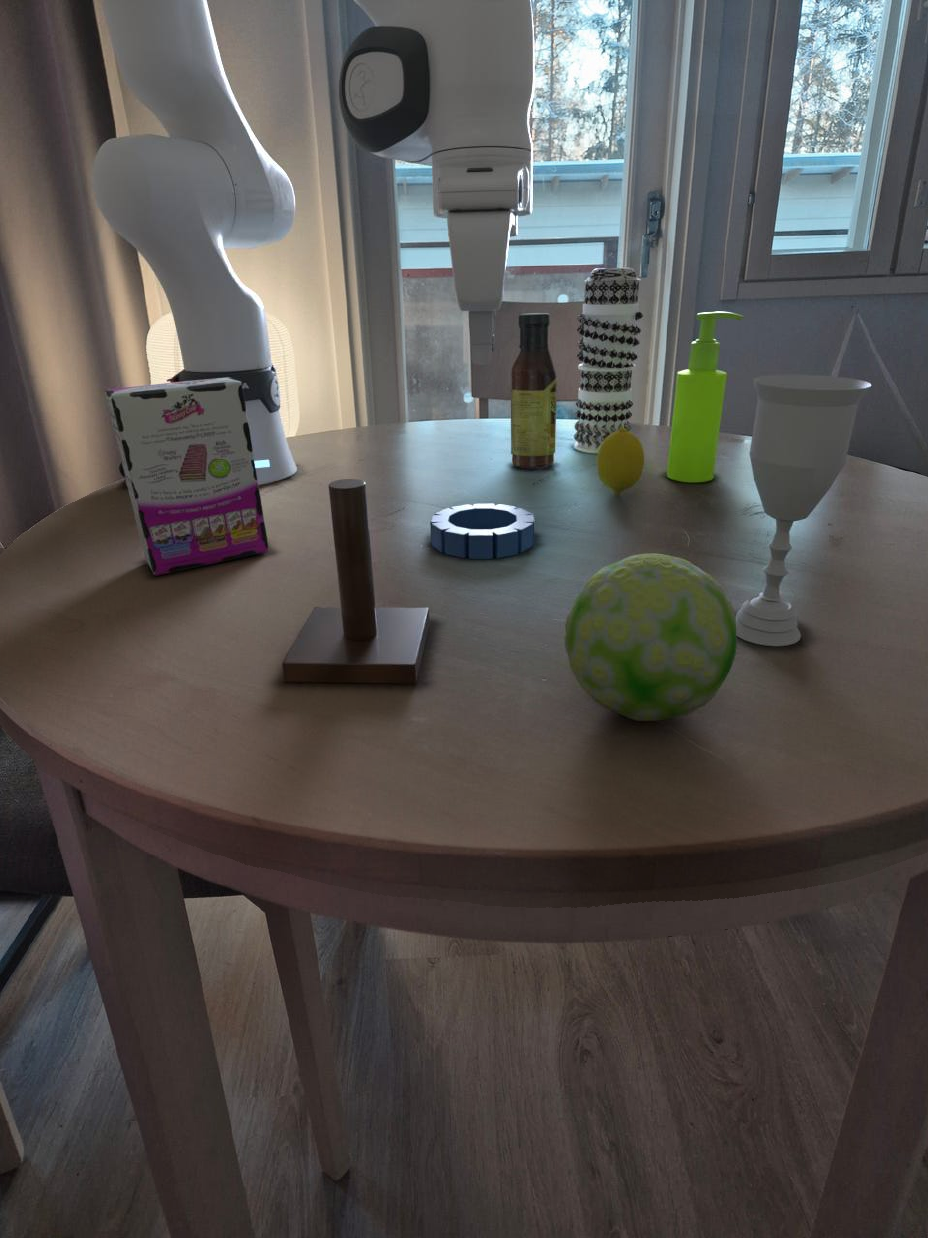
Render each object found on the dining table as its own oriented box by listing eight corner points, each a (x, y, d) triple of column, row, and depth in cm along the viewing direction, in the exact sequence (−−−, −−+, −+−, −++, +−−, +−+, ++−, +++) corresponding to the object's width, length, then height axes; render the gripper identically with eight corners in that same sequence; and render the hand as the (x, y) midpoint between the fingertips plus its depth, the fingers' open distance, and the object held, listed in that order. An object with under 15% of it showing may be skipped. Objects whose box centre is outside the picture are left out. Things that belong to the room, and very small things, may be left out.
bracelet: (427, 558, 69) (425, 535, 68) (436, 524, 78) (436, 503, 77) (535, 559, 68) (535, 535, 67) (532, 524, 78) (532, 503, 77)
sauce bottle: (560, 469, 99) (566, 313, 91) (516, 471, 98) (518, 315, 90) (547, 458, 105) (552, 311, 96) (505, 460, 104) (506, 312, 96)
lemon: (641, 501, 85) (647, 433, 81) (593, 499, 86) (598, 431, 82) (640, 488, 90) (646, 423, 86) (595, 487, 91) (599, 422, 87)
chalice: (837, 645, 52) (898, 386, 44) (757, 659, 50) (805, 392, 42) (771, 605, 58) (814, 372, 50) (697, 616, 56) (730, 377, 49)
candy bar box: (255, 539, 75) (229, 375, 68) (270, 553, 71) (245, 380, 64) (142, 561, 70) (101, 386, 63) (152, 577, 66) (110, 393, 59)
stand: (284, 682, 48) (257, 503, 43) (316, 623, 57) (297, 466, 51) (416, 684, 48) (406, 503, 42) (429, 624, 56) (422, 466, 51)
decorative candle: (595, 438, 117) (606, 268, 106) (643, 447, 111) (659, 266, 100) (559, 447, 111) (566, 268, 100) (607, 457, 105) (620, 267, 94)
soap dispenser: (721, 484, 91) (744, 313, 82) (664, 480, 93) (682, 313, 84) (721, 473, 96) (744, 310, 87) (668, 470, 98) (685, 310, 89)
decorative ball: (737, 763, 40) (767, 598, 35) (556, 747, 41) (564, 588, 37) (713, 674, 48) (735, 533, 44) (565, 663, 50) (572, 527, 46)
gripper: (455, 204, 73) (458, 348, 79) (436, 181, 55) (442, 371, 61) (517, 202, 73) (515, 347, 79) (519, 179, 54) (516, 370, 60)
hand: (483, 358), depth 70 cm, fingers open, 8 cm apart
